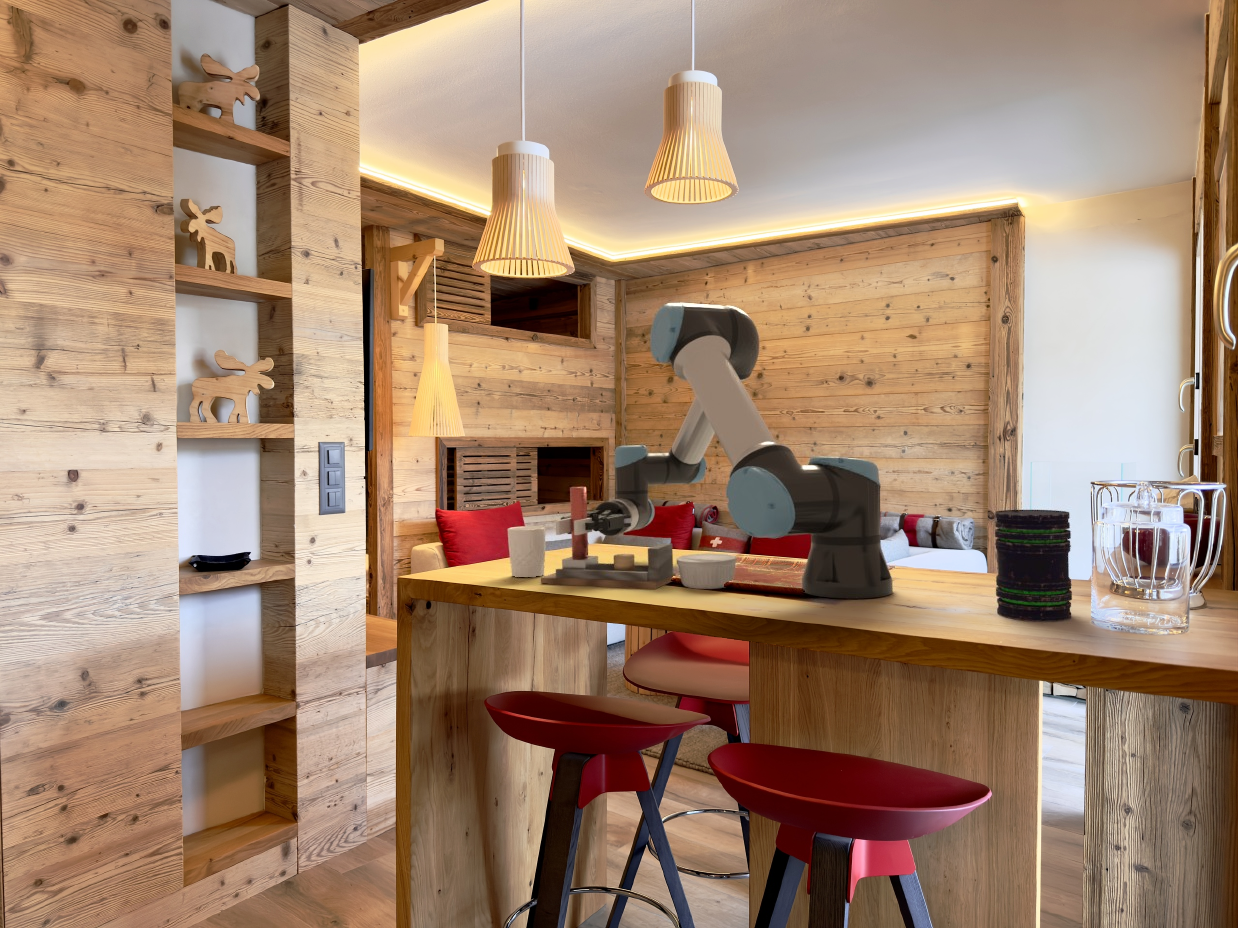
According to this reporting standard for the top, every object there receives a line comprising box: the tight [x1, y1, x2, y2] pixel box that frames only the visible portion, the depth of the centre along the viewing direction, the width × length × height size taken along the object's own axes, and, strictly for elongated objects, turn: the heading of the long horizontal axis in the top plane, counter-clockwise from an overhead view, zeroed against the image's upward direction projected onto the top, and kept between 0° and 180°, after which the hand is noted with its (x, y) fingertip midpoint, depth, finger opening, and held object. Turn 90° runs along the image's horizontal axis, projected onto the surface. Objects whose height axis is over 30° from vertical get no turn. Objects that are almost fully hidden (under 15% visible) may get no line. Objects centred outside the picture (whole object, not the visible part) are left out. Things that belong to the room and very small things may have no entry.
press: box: [540, 543, 677, 590], centre depth 157 cm, size 24×11×7 cm, turn 67°
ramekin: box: [676, 553, 738, 590], centre depth 151 cm, size 11×11×5 cm
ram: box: [561, 486, 599, 570], centre depth 159 cm, size 5×6×17 cm
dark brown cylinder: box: [994, 509, 1073, 623], centre depth 117 cm, size 10×10×15 cm
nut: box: [613, 553, 636, 571], centre depth 156 cm, size 4×4×4 cm
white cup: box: [507, 525, 547, 578], centre depth 168 cm, size 8×8×10 cm
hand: (566, 527), depth 154 cm, fingers closed on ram, 3 cm apart
